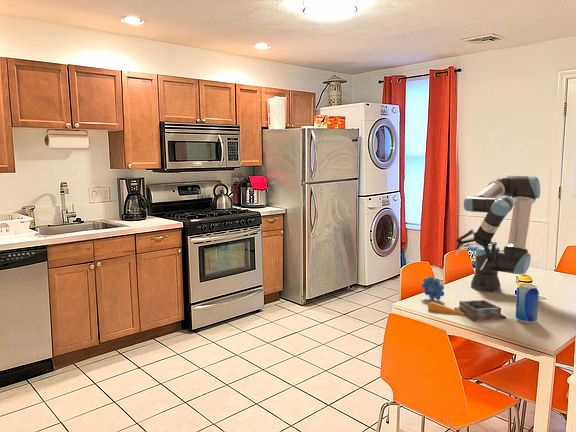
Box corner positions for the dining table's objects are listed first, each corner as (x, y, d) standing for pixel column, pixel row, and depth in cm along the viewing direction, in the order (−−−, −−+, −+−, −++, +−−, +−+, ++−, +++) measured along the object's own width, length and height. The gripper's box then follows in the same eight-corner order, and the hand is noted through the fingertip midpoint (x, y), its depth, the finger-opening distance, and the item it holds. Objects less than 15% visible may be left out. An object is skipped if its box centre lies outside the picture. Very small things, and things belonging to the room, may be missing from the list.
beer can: (528, 325, 193) (531, 289, 191) (511, 319, 201) (513, 284, 199) (541, 322, 197) (543, 286, 195) (523, 316, 205) (525, 282, 203)
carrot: (427, 312, 214) (427, 305, 212) (429, 306, 217) (429, 299, 215) (471, 323, 204) (471, 316, 202) (473, 317, 207) (473, 310, 205)
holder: (484, 307, 217) (484, 298, 217) (506, 318, 202) (506, 309, 201) (454, 309, 214) (454, 300, 214) (473, 321, 199) (474, 311, 198)
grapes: (418, 299, 230) (419, 276, 228) (422, 296, 235) (423, 274, 234) (441, 303, 223) (442, 280, 222) (445, 300, 229) (446, 277, 227)
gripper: (461, 218, 219) (444, 251, 231) (510, 245, 208) (489, 278, 221) (466, 213, 224) (449, 245, 237) (514, 239, 214) (494, 271, 226)
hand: (468, 261), depth 229 cm, fingers open, 13 cm apart
